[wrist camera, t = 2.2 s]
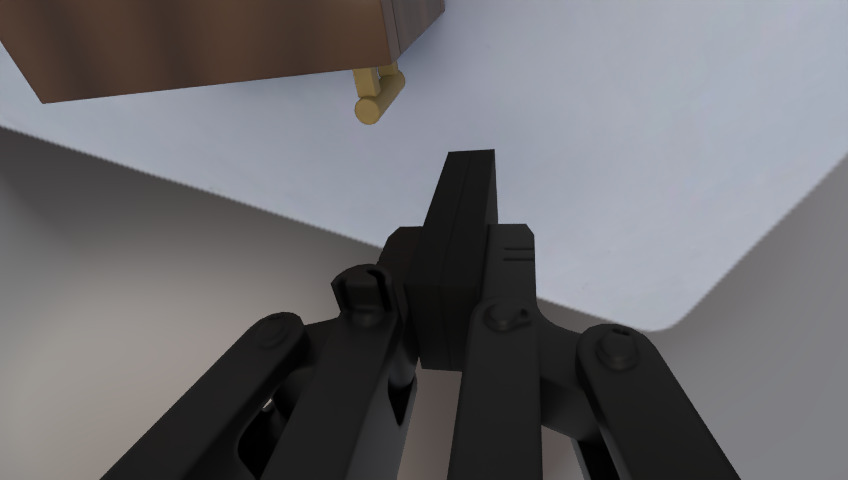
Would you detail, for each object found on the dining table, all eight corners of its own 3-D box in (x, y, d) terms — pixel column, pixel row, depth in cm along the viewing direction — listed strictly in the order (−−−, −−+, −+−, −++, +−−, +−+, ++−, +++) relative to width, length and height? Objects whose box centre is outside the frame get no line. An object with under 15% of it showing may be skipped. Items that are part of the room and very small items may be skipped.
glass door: (315, 90, 30) (238, 149, 22) (294, 15, 27) (196, 51, 19) (425, 79, 28) (386, 139, 20) (414, -3, 25) (363, 29, 17)
